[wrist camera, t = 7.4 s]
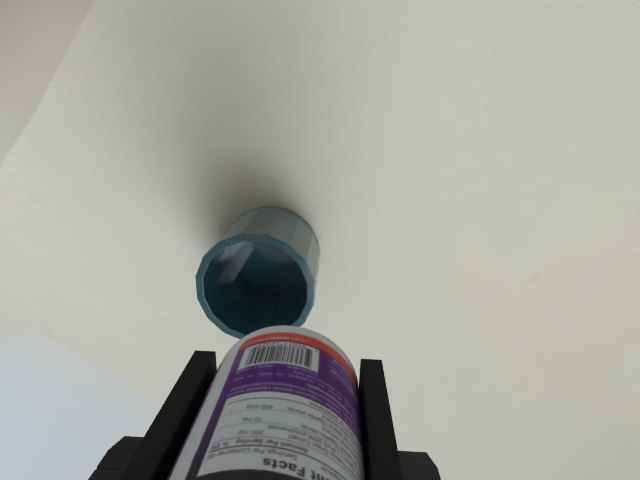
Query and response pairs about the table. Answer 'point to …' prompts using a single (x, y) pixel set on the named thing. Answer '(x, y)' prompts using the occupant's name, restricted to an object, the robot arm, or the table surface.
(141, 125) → the table surface
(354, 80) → the table surface
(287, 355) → the pill bottle
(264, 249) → the cup
